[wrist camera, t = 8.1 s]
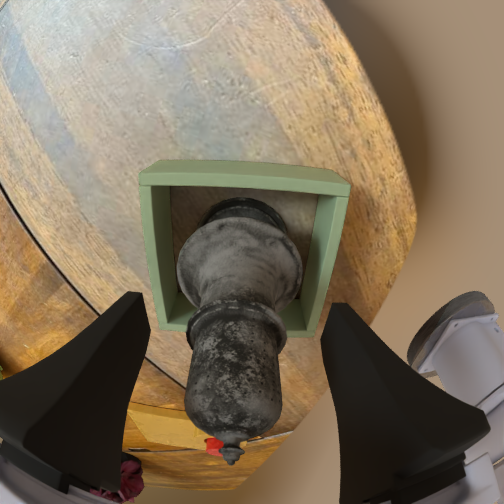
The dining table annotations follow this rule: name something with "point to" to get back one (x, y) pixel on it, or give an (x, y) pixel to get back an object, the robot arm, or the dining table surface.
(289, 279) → the chess piece
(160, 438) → the control block
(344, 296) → the dining table surface
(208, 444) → the stop button
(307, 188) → the green square tray
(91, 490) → the flower arrangement
